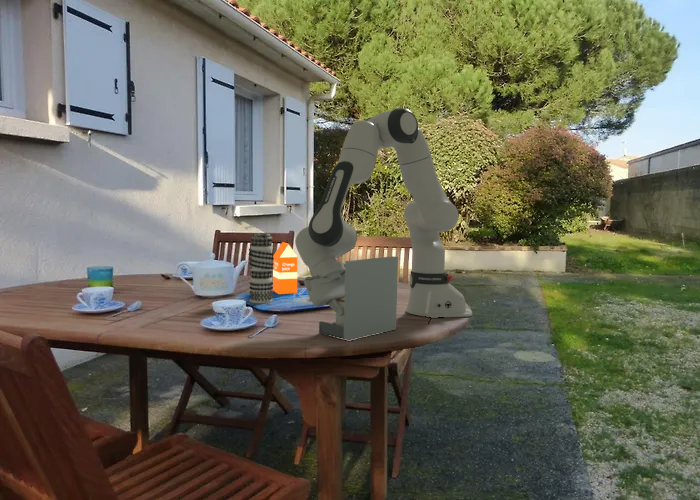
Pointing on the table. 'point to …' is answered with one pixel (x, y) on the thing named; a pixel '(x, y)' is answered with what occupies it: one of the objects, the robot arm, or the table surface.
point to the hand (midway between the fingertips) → (351, 312)
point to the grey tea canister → (338, 318)
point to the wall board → (367, 299)
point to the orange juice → (285, 270)
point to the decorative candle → (261, 268)
